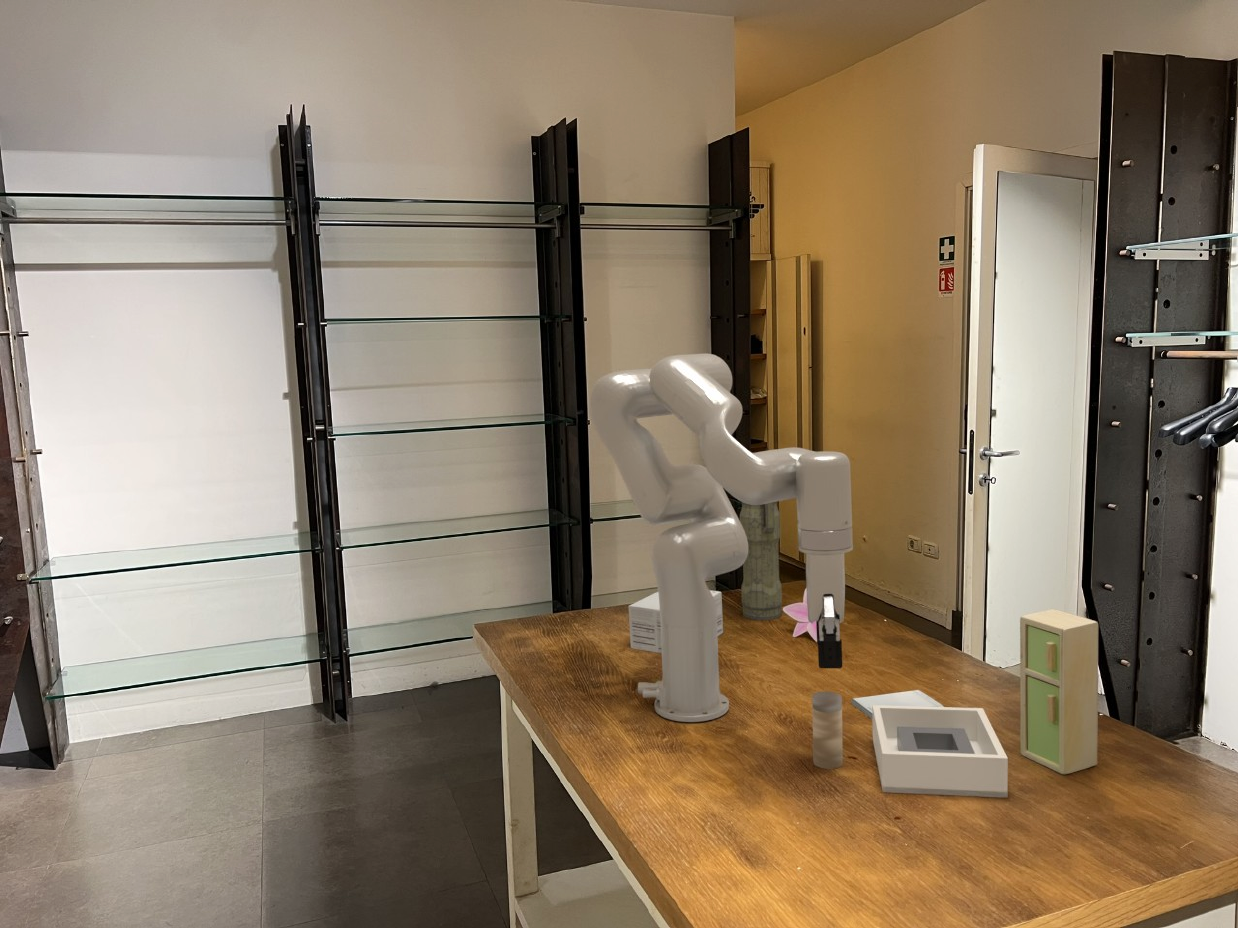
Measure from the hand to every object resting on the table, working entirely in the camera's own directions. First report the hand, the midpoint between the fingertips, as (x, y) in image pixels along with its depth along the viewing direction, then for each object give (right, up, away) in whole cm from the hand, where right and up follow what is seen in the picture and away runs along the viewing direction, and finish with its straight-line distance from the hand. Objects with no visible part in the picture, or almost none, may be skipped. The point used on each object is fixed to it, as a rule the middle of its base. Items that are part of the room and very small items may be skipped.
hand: (829, 656), depth 135 cm
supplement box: (-18, -10, +61) cm, 64 cm away
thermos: (+2, -6, +76) cm, 77 cm away
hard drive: (+16, -14, +21) cm, 30 cm away
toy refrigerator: (+33, -15, 0) cm, 36 cm away
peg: (0, -16, +3) cm, 16 cm away
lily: (+10, -8, +60) cm, 62 cm away
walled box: (+15, -16, 0) cm, 22 cm away
